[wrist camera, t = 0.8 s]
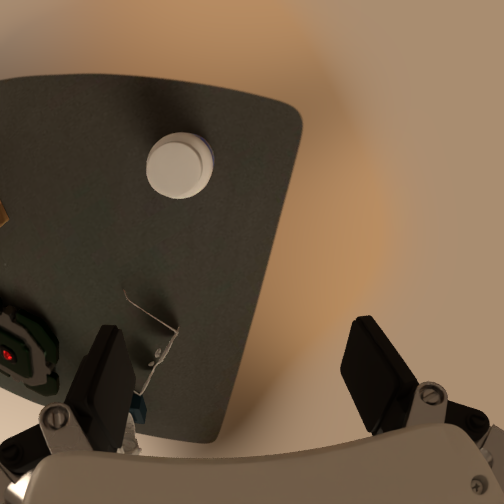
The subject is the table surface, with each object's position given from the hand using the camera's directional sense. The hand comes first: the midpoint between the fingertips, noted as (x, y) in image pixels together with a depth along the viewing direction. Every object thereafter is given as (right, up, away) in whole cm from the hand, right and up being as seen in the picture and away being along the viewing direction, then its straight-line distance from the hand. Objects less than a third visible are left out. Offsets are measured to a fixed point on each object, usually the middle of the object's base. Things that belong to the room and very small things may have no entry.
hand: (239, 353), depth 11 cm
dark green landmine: (-38, -10, +24) cm, 46 cm away
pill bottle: (-6, +13, +17) cm, 23 cm away
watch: (-20, -21, +30) cm, 42 cm away
